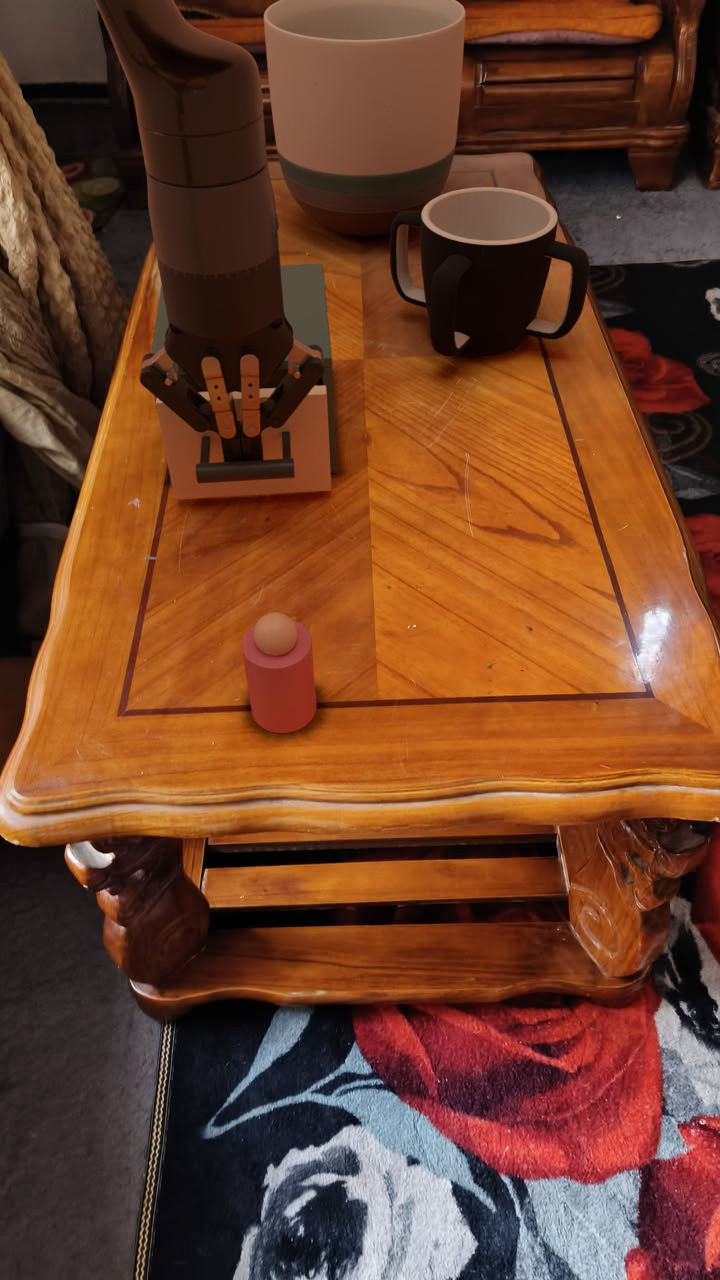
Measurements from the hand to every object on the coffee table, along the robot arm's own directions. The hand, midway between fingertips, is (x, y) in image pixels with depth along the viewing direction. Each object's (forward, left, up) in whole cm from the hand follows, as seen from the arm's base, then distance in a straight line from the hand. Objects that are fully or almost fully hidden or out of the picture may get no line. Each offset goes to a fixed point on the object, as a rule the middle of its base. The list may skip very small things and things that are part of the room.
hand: (246, 471), depth 71 cm
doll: (+2, -19, -5) cm, 20 cm away
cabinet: (0, +14, -5) cm, 15 cm away
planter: (+13, +54, -5) cm, 55 cm away
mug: (+22, +27, -5) cm, 35 cm away
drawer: (0, +7, -4) cm, 8 cm away
